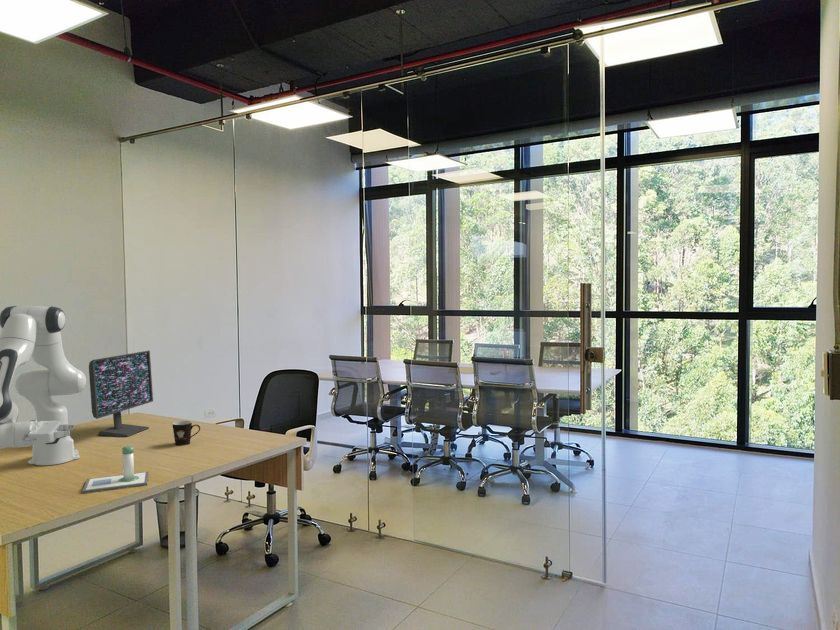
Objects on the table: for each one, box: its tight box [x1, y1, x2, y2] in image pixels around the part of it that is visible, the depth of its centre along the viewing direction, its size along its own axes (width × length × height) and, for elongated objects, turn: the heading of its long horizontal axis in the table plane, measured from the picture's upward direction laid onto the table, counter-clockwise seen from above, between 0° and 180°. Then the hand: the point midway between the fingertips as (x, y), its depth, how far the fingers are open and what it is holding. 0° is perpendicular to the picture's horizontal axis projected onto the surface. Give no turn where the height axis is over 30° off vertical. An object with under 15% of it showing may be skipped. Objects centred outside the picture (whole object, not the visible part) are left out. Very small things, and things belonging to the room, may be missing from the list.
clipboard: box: [81, 471, 149, 494], centre depth 216 cm, size 15×21×1 cm
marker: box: [121, 445, 135, 480], centre depth 217 cm, size 4×4×12 cm
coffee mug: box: [172, 420, 201, 447], centre depth 271 cm, size 12×9×10 cm
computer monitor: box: [88, 350, 154, 438], centre depth 294 cm, size 44×16×40 cm, turn 171°
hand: (72, 429), depth 210 cm, fingers open, 8 cm apart
